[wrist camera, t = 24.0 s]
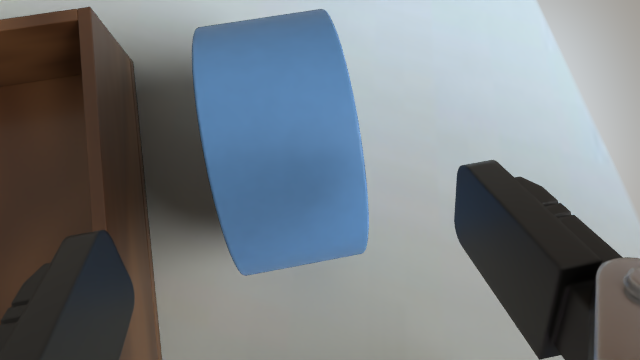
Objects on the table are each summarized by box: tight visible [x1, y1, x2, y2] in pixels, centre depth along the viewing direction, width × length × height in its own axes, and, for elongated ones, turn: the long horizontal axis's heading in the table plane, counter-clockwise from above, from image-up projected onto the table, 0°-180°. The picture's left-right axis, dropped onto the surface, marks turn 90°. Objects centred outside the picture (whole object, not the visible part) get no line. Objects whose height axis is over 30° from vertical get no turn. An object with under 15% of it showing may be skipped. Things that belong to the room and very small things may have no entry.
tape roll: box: [192, 9, 369, 276], centre depth 18 cm, size 5×10×10 cm, turn 11°
